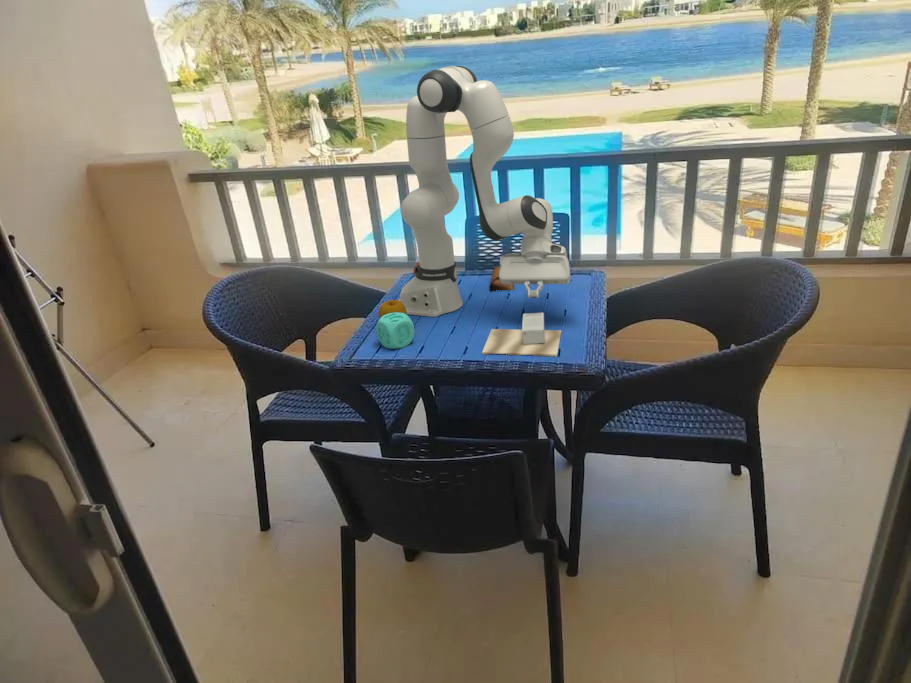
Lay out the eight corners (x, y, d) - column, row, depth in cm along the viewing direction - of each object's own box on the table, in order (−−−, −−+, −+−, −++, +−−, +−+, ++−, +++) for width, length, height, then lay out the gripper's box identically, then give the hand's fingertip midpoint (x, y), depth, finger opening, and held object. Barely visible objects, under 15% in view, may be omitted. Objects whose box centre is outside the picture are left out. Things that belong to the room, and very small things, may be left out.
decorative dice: (400, 334, 181) (396, 309, 178) (416, 342, 175) (413, 316, 172) (377, 343, 177) (373, 318, 173) (393, 351, 171) (390, 325, 168)
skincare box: (523, 326, 178) (522, 344, 167) (522, 313, 176) (521, 330, 165) (545, 325, 177) (544, 343, 166) (544, 311, 175) (543, 329, 164)
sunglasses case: (515, 290, 205) (504, 274, 204) (497, 301, 208) (486, 285, 206) (516, 272, 222) (506, 257, 220) (500, 282, 224) (490, 268, 222)
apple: (388, 321, 191) (385, 295, 187) (413, 323, 188) (410, 296, 184) (375, 332, 184) (371, 305, 180) (401, 335, 181) (397, 307, 177)
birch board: (482, 354, 165) (481, 352, 165) (491, 330, 178) (491, 329, 178) (557, 356, 160) (557, 354, 160) (561, 332, 173) (561, 330, 173)
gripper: (498, 248, 176) (495, 292, 172) (570, 247, 171) (568, 292, 167) (502, 258, 182) (498, 301, 178) (571, 257, 177) (570, 301, 173)
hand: (533, 297), depth 172 cm, fingers closed
